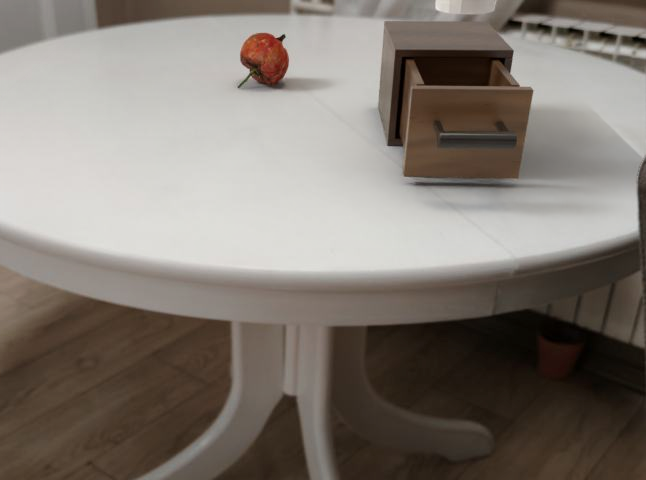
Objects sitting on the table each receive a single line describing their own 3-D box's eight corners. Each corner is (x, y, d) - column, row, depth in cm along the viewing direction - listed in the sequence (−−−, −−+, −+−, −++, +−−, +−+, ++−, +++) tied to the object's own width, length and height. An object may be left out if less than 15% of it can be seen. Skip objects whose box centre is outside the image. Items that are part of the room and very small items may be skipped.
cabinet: (498, 147, 92) (514, 50, 86) (387, 145, 92) (395, 49, 86) (475, 107, 105) (487, 21, 99) (377, 106, 105) (384, 20, 100)
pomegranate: (261, 110, 112) (313, 59, 111) (228, 69, 108) (281, 16, 108) (244, 102, 118) (292, 53, 118) (212, 63, 114) (262, 13, 114)
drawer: (530, 200, 76) (548, 106, 71) (409, 198, 76) (418, 105, 72) (491, 133, 93) (503, 54, 88) (391, 132, 93) (398, 53, 89)
